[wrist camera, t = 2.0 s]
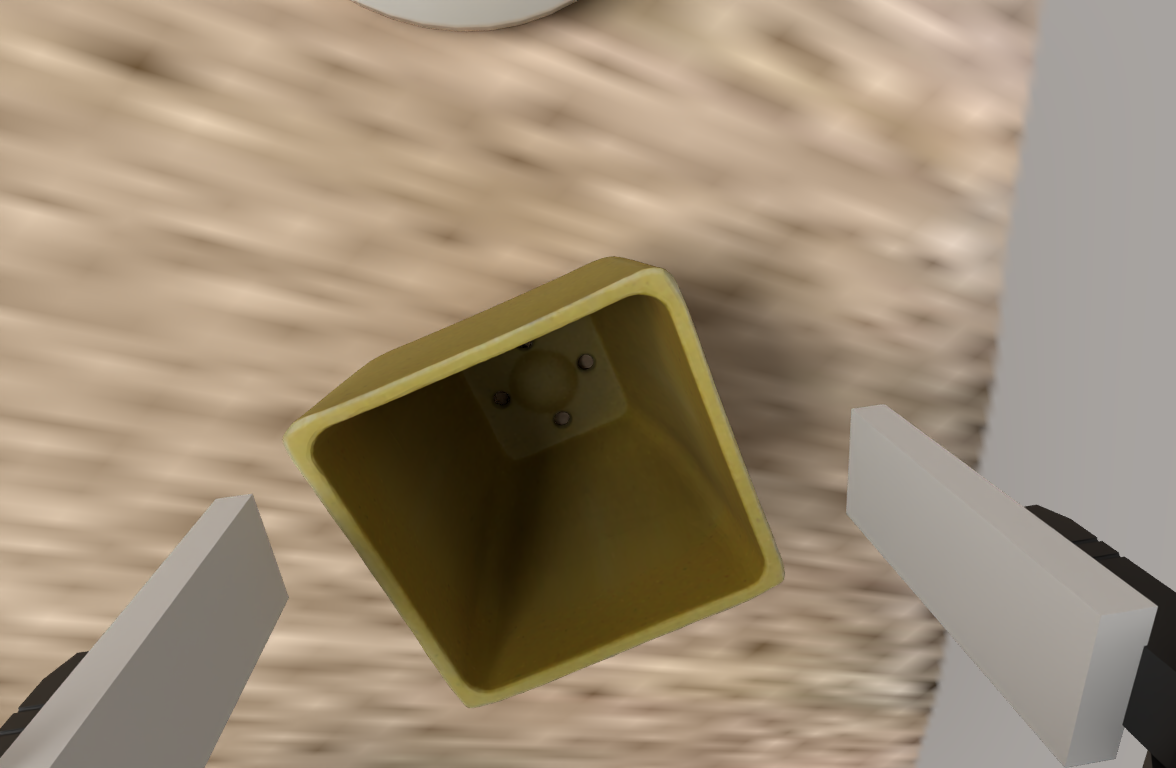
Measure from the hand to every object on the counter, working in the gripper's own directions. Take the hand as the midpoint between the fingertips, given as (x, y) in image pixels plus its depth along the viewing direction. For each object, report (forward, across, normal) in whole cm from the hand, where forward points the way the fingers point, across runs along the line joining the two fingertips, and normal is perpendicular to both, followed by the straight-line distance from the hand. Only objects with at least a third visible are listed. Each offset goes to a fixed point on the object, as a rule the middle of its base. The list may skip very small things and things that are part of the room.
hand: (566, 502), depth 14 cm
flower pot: (+9, 0, 0) cm, 9 cm away
